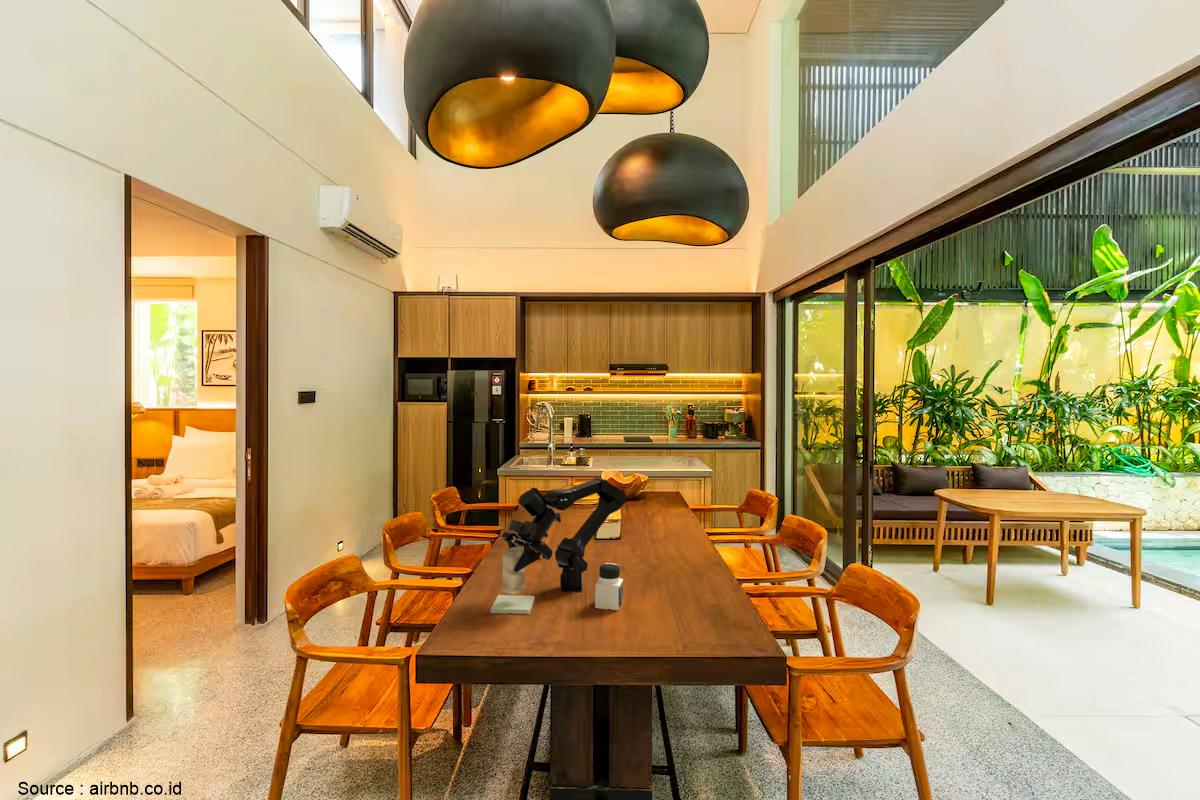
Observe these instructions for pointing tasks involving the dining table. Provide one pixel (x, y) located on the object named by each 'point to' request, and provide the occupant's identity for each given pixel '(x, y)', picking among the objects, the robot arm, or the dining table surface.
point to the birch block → (512, 579)
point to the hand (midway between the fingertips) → (509, 569)
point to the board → (512, 604)
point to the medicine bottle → (609, 587)
